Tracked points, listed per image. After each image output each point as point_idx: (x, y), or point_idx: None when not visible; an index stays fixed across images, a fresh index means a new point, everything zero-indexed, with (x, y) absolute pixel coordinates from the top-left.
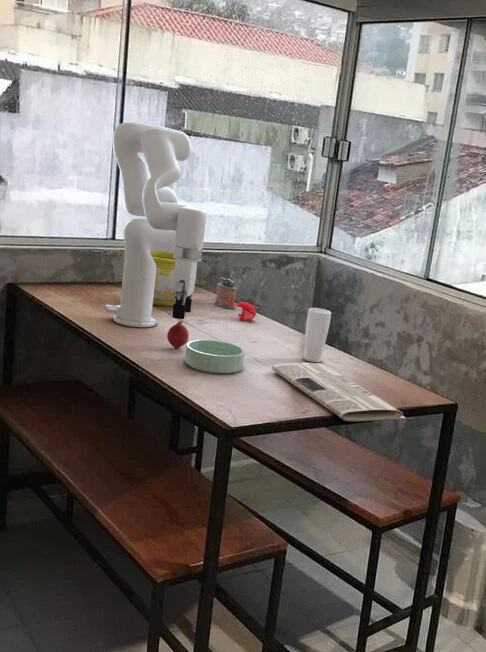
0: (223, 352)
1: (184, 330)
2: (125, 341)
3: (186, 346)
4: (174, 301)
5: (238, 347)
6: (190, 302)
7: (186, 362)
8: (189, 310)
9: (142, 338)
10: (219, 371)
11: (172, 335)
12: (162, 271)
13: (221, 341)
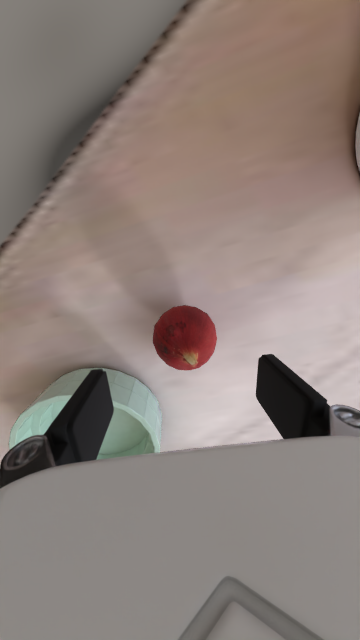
0: (148, 437)
1: (173, 367)
2: (169, 173)
3: (59, 392)
4: (2, 461)
5: None
6: (283, 438)
7: (59, 378)
8: (259, 402)
9: (232, 213)
10: None
11: (154, 330)
12: None
13: (157, 451)
